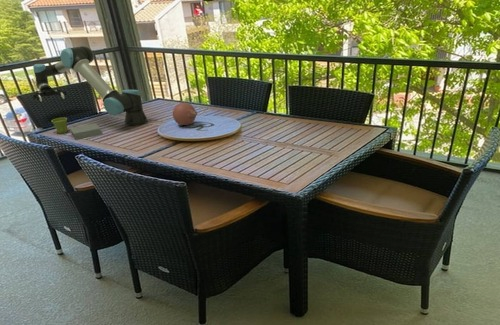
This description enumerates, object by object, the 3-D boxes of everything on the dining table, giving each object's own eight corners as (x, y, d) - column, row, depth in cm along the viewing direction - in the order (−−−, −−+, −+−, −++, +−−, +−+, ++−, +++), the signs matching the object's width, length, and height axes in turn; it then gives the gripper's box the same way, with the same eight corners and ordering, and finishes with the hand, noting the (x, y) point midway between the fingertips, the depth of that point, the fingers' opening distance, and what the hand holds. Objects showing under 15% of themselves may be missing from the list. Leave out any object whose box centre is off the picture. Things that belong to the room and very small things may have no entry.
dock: (96, 128, 238) (95, 123, 236) (101, 134, 227) (100, 128, 226) (71, 134, 230) (69, 128, 229) (75, 139, 220) (73, 133, 218)
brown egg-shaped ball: (187, 131, 225) (185, 108, 218) (169, 126, 237) (166, 103, 231) (206, 125, 235) (204, 103, 228) (187, 120, 247) (185, 98, 241)
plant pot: (64, 134, 230) (60, 121, 226) (51, 134, 232) (48, 121, 228) (73, 129, 238) (70, 117, 235) (61, 129, 240) (58, 117, 237)
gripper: (66, 93, 256) (73, 101, 241) (26, 97, 242) (32, 106, 227) (64, 82, 252) (72, 90, 238) (24, 86, 238) (29, 94, 224)
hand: (52, 98), depth 233 cm, fingers open, 13 cm apart
